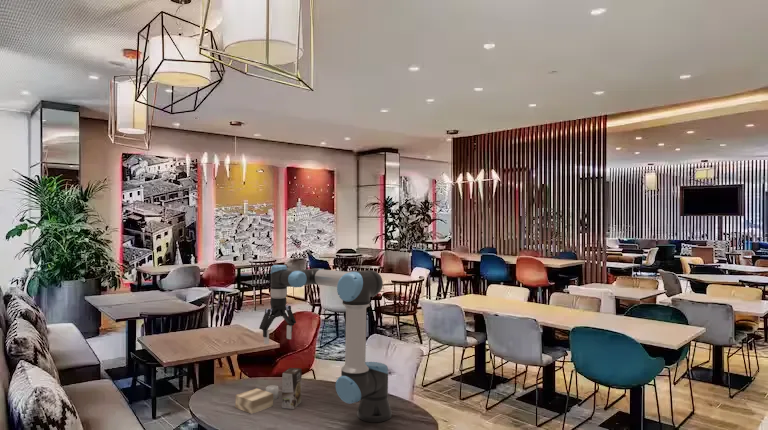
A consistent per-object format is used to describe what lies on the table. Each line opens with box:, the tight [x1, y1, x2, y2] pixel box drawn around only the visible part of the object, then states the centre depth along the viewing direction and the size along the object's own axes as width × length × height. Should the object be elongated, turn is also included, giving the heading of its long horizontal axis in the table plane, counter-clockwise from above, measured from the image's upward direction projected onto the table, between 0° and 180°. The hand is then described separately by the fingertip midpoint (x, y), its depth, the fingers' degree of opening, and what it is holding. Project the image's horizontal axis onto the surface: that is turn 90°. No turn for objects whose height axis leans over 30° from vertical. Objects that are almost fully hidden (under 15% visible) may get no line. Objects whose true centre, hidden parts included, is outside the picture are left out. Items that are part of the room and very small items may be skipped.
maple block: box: [234, 388, 274, 415], centre depth 224 cm, size 12×12×6 cm
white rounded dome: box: [265, 384, 279, 401], centre depth 236 cm, size 6×6×5 cm
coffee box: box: [281, 367, 303, 410], centre depth 227 cm, size 9×6×16 cm
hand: (277, 341), depth 234 cm, fingers open, 13 cm apart
